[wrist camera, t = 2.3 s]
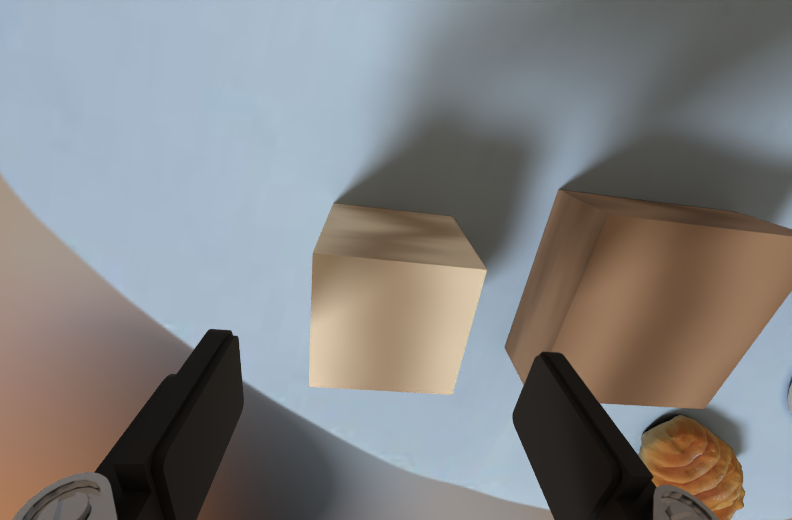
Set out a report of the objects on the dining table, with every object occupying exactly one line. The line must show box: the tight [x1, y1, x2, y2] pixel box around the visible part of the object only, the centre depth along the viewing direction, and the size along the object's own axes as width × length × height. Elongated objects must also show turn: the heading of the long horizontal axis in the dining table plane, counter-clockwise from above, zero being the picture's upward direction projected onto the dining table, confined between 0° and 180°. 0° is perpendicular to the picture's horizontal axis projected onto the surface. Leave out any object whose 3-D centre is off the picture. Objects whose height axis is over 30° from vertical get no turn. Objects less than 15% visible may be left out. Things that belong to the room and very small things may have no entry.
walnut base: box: [505, 190, 792, 409], centre depth 17 cm, size 10×10×4 cm
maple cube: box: [309, 203, 487, 395], centre depth 15 cm, size 6×6×6 cm
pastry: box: [638, 415, 745, 520], centre depth 25 cm, size 9×7×4 cm
